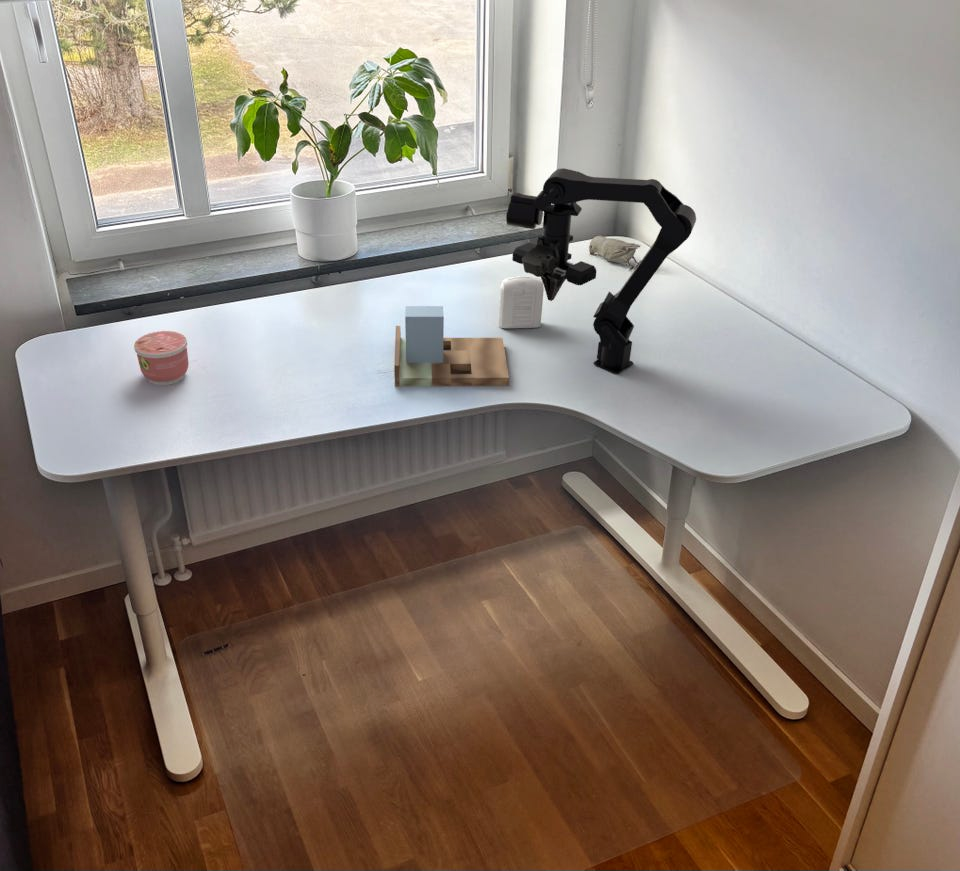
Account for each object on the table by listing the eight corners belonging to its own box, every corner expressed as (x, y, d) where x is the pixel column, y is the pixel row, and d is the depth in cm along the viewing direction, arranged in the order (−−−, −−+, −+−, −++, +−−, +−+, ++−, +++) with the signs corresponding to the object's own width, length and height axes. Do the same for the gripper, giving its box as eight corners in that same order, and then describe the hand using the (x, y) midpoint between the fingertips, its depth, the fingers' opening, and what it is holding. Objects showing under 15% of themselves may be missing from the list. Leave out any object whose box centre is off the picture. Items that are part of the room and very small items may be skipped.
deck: (502, 345, 216) (503, 325, 213) (508, 385, 201) (509, 365, 199) (396, 345, 215) (395, 325, 212) (394, 386, 200) (394, 365, 197)
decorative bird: (595, 251, 264) (598, 226, 260) (643, 269, 255) (646, 242, 251) (583, 256, 261) (586, 231, 257) (631, 274, 252) (634, 248, 248)
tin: (442, 351, 209) (443, 306, 203) (443, 362, 205) (443, 316, 199) (406, 351, 208) (405, 306, 202) (406, 362, 204) (405, 316, 198)
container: (138, 367, 203) (132, 334, 199) (189, 360, 206) (183, 327, 202) (142, 392, 195) (135, 357, 191) (194, 384, 198) (189, 350, 194)
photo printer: (539, 320, 227) (542, 272, 221) (542, 328, 224) (546, 280, 217) (496, 322, 226) (498, 273, 219) (499, 330, 223) (501, 281, 216)
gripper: (497, 229, 198) (494, 298, 207) (568, 255, 188) (562, 325, 197) (530, 216, 205) (526, 282, 214) (601, 240, 195) (593, 309, 204)
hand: (550, 299), depth 207 cm, fingers closed
